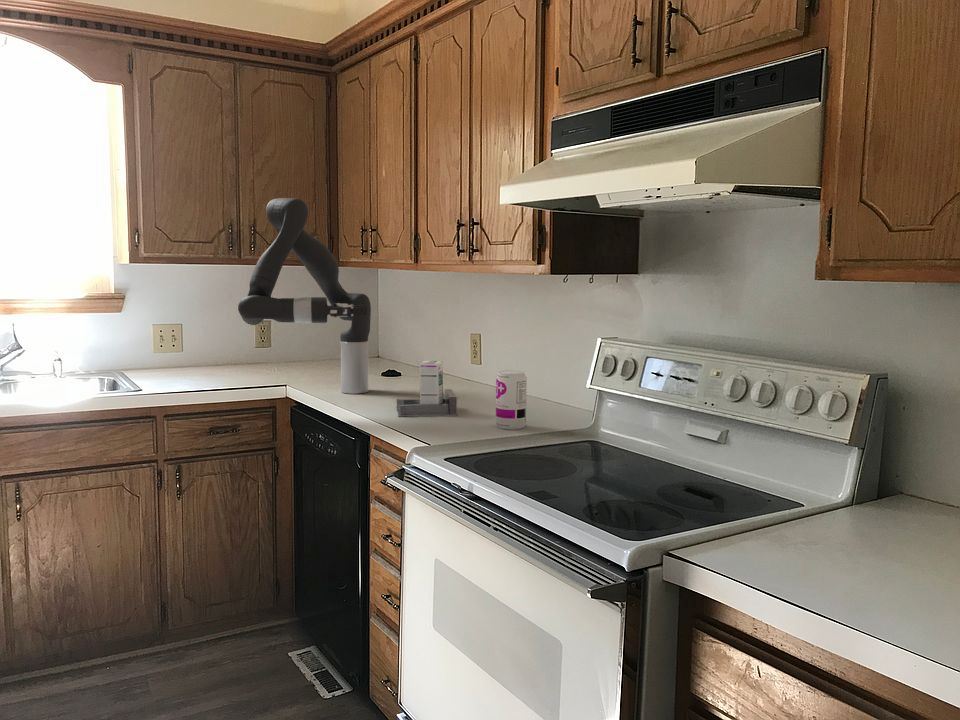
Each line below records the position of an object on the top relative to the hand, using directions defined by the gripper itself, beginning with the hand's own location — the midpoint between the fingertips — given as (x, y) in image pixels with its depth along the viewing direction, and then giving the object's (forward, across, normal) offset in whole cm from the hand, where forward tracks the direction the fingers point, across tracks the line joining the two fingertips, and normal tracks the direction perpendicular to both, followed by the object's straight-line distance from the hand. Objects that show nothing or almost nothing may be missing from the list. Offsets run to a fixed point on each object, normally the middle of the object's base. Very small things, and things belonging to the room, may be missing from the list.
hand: (366, 309), depth 238 cm
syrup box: (+19, -4, +30) cm, 35 cm away
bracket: (+17, -4, +30) cm, 35 cm away
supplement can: (+38, -28, +30) cm, 56 cm away
